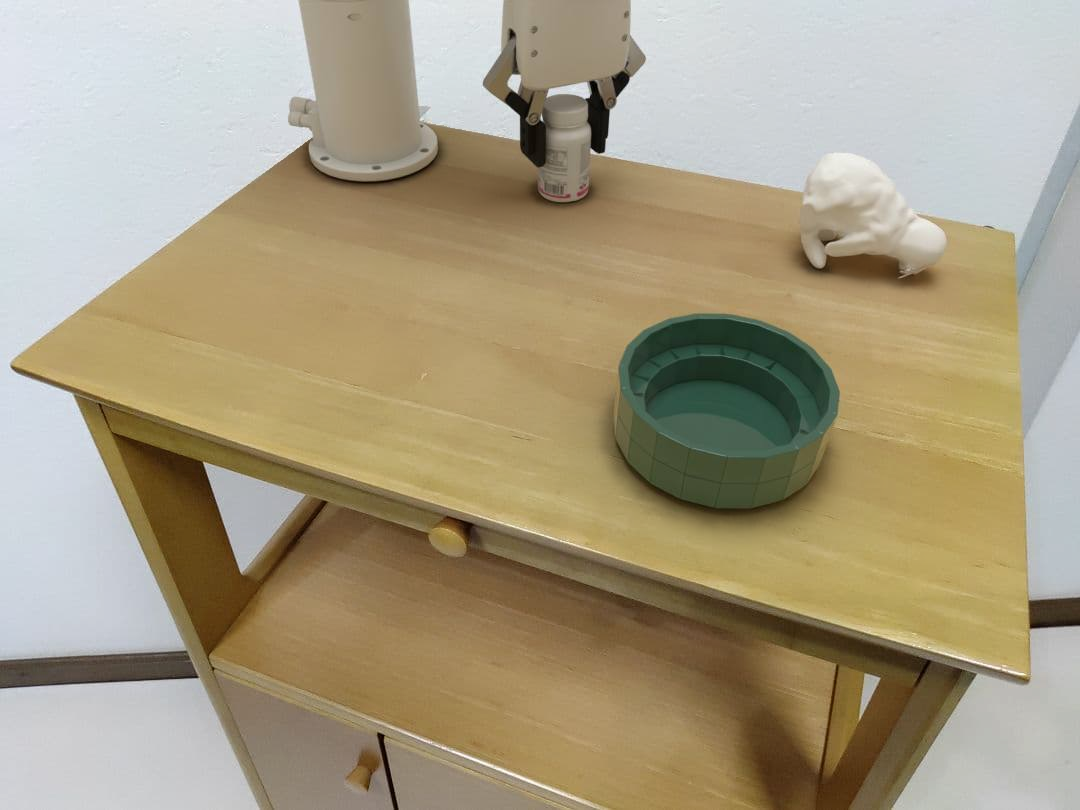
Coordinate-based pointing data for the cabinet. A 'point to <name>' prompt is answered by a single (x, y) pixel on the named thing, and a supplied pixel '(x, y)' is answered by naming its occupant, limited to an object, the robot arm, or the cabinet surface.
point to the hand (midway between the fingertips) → (564, 152)
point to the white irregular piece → (863, 216)
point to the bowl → (724, 409)
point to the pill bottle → (565, 149)
